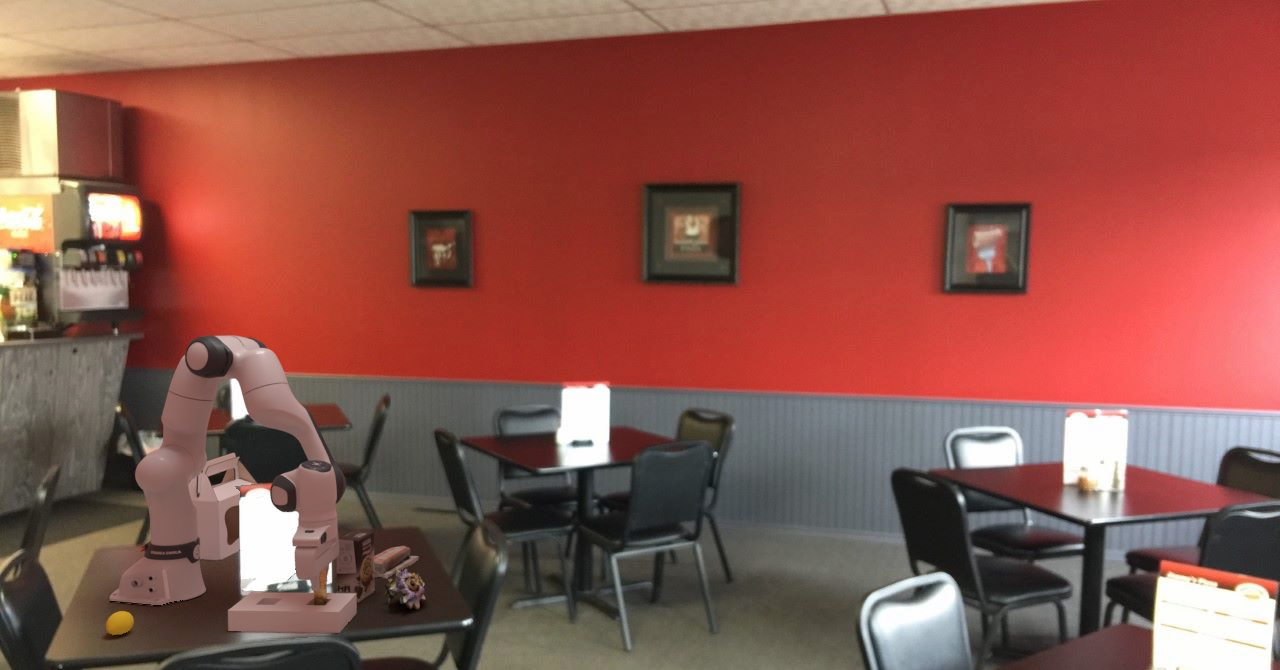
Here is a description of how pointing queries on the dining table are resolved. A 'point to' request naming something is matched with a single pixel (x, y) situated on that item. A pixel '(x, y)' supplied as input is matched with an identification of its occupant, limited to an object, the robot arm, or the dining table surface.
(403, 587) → the passion flower
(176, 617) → the dining table surface
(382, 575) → the packaged product
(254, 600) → the socket block
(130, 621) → the lemon
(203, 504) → the gable box
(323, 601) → the brass pin
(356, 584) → the coffee box
